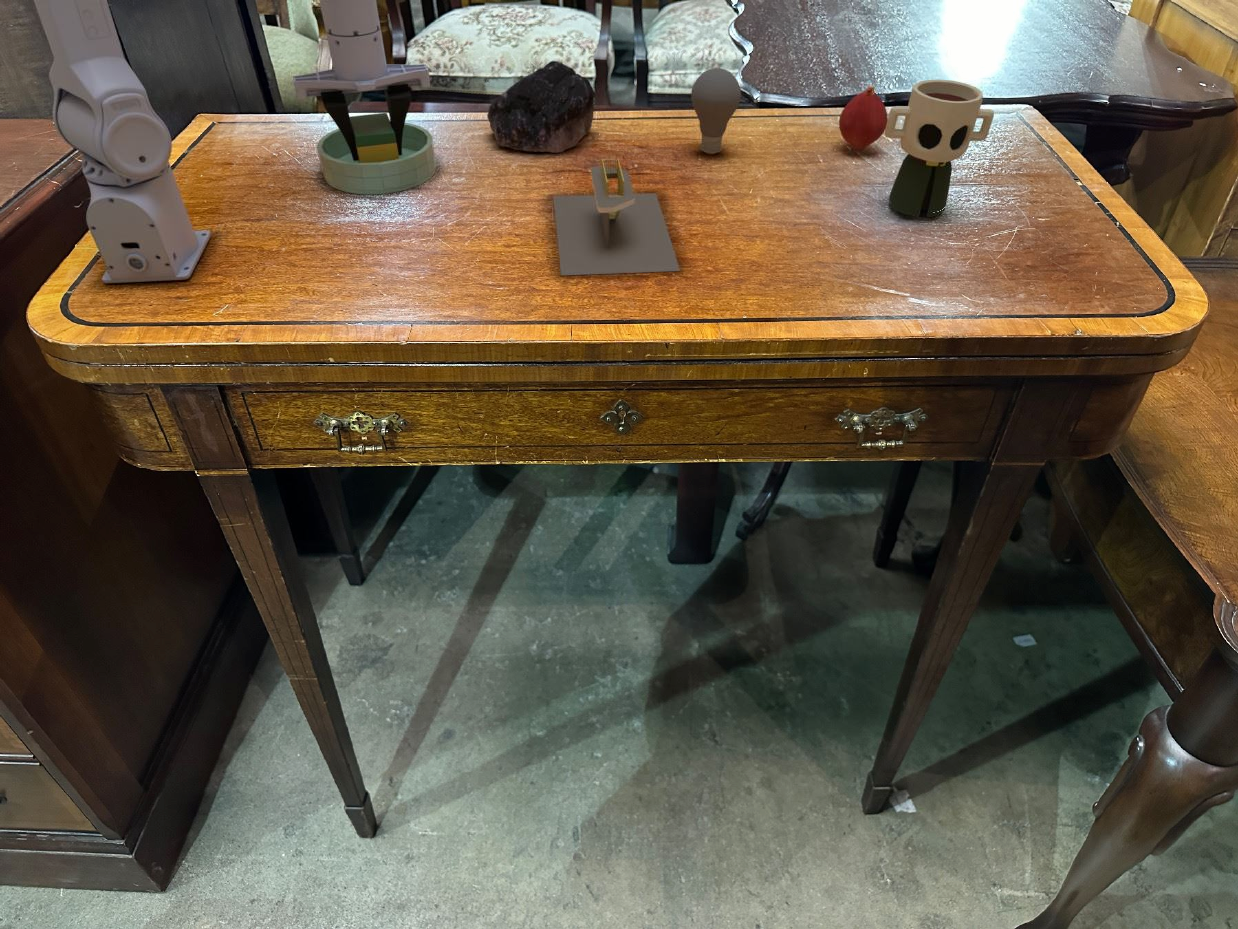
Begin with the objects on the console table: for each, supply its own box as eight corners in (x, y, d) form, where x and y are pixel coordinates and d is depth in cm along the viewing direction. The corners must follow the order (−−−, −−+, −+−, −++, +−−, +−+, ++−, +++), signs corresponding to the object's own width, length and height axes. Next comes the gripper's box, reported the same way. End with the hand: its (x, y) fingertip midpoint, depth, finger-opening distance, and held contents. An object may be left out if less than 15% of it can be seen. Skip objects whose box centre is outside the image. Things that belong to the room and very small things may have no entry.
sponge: (402, 175, 96) (394, 132, 93) (363, 180, 95) (354, 136, 91) (393, 154, 100) (386, 112, 97) (357, 158, 99) (348, 116, 96)
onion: (825, 144, 107) (837, 79, 101) (864, 139, 108) (878, 75, 103) (847, 161, 103) (861, 95, 97) (888, 156, 104) (904, 91, 99)
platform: (655, 193, 95) (658, 136, 91) (680, 270, 82) (684, 209, 78) (553, 196, 94) (550, 138, 90) (561, 275, 81) (558, 212, 77)
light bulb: (678, 147, 105) (684, 64, 98) (719, 140, 107) (727, 58, 100) (701, 165, 101) (708, 80, 94) (743, 157, 103) (753, 73, 96)
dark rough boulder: (474, 134, 109) (462, 57, 102) (561, 106, 114) (556, 31, 106) (523, 177, 102) (514, 98, 94) (613, 146, 107) (612, 68, 99)
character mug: (872, 221, 91) (902, 100, 82) (861, 193, 96) (888, 76, 87) (971, 225, 90) (1012, 104, 82) (955, 197, 96) (991, 80, 87)
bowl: (434, 192, 94) (429, 162, 92) (316, 196, 93) (309, 166, 91) (438, 147, 104) (434, 119, 102) (331, 150, 103) (325, 122, 100)
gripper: (284, 45, 83) (315, 176, 92) (427, 33, 87) (444, 160, 96) (280, 26, 88) (310, 152, 97) (416, 16, 91) (433, 138, 101)
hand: (376, 154), depth 97 cm, fingers closed on sponge, 4 cm apart
